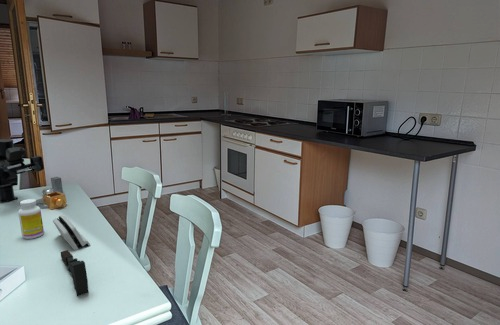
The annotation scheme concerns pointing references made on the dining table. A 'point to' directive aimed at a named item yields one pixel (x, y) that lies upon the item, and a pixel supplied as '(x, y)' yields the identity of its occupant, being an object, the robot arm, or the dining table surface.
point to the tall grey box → (56, 184)
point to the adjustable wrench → (76, 272)
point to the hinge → (69, 232)
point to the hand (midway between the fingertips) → (29, 172)
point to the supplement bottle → (30, 219)
